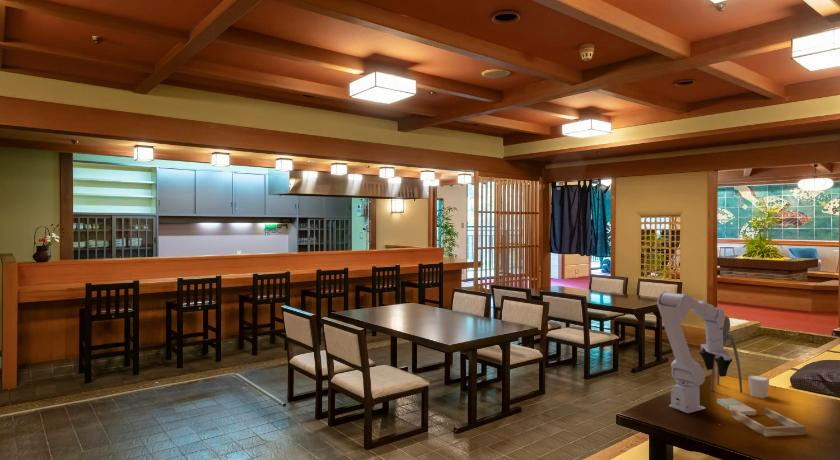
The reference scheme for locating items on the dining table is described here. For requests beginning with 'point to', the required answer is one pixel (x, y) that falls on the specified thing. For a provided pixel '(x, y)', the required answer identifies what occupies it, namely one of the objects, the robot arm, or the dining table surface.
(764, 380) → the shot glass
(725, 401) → the celadon tile
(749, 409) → the cream tile
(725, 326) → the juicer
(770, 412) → the box
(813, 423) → the dining table surface
